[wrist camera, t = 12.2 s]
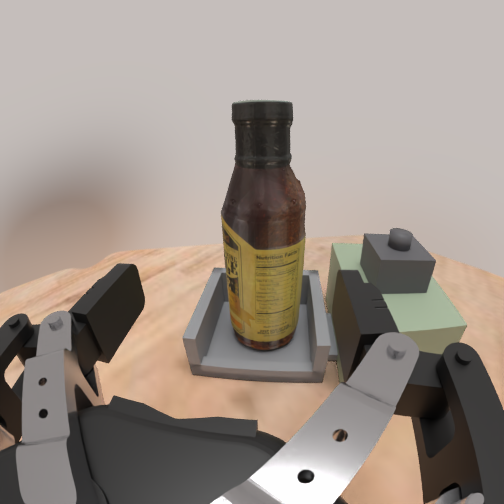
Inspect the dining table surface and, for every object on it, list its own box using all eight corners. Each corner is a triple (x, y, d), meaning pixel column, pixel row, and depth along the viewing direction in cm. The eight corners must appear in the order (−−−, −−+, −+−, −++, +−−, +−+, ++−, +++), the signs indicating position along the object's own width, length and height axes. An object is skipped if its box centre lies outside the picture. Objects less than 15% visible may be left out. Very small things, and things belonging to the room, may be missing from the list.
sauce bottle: (237, 310, 29) (226, 106, 20) (297, 312, 28) (304, 105, 19) (225, 354, 23) (203, 100, 14) (297, 358, 22) (312, 97, 13)
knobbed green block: (187, 387, 20) (156, 271, 15) (220, 294, 33) (212, 203, 28) (434, 384, 18) (487, 276, 13) (394, 297, 30) (413, 209, 26)
